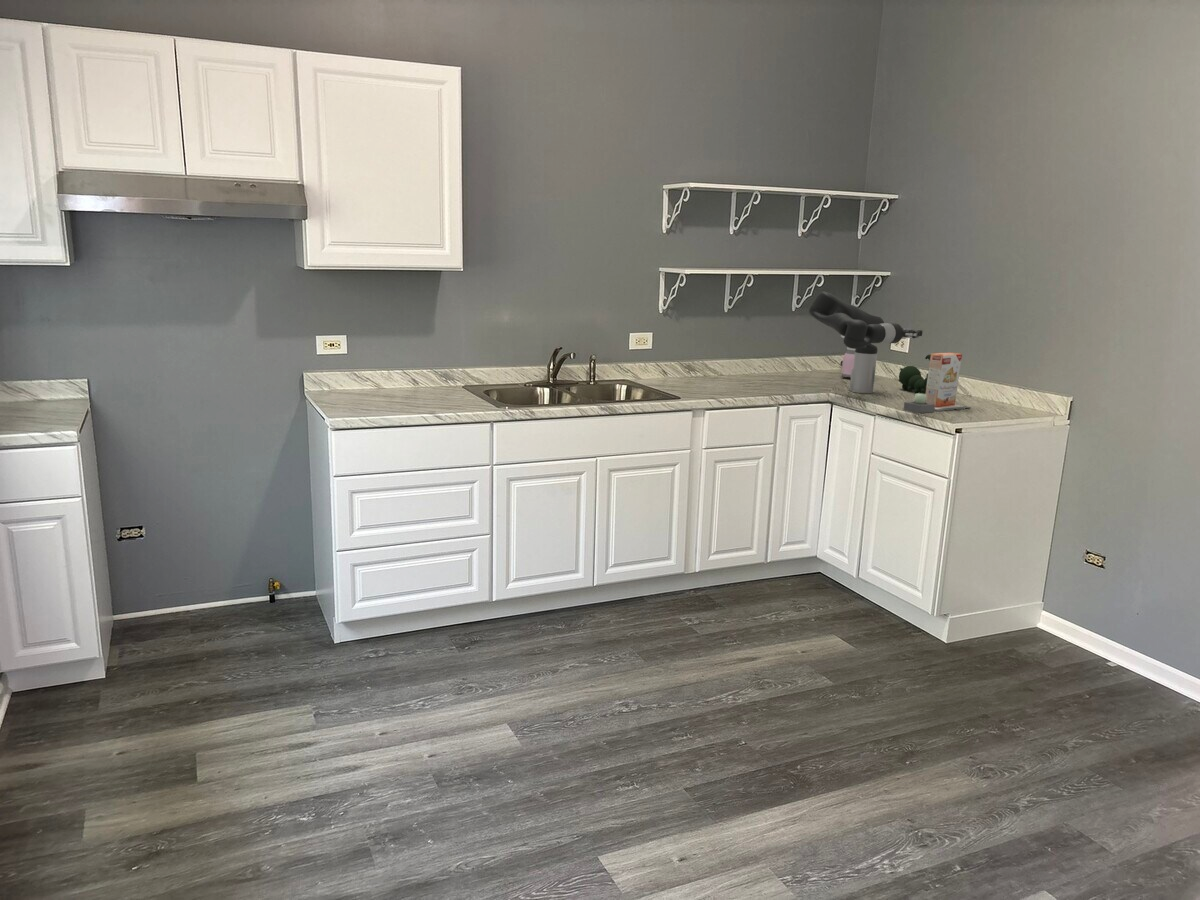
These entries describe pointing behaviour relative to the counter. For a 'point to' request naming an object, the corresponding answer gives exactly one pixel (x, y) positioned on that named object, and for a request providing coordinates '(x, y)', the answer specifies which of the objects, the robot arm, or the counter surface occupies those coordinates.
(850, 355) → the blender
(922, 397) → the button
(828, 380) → the counter surface
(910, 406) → the grey square holder
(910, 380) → the toy figurine
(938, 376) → the cracker box
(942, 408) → the mat
